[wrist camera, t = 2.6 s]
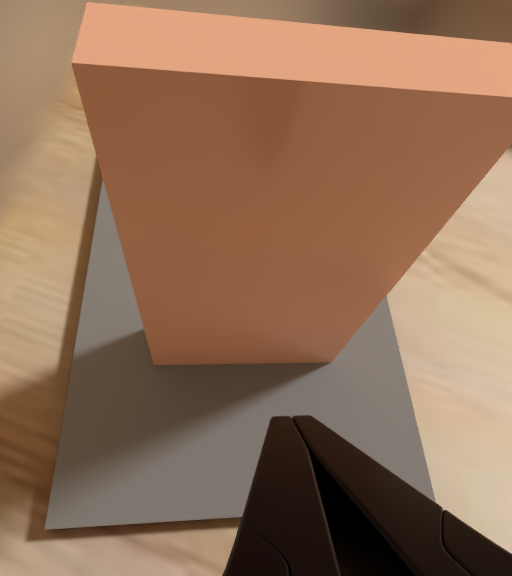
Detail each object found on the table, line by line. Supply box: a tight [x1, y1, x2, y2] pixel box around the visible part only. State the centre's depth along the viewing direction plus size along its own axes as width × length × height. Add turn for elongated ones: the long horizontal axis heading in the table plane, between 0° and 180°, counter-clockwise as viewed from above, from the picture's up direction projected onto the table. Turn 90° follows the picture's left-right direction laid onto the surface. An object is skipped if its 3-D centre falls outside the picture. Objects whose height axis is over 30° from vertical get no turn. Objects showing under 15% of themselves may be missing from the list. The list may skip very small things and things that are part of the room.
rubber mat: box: [44, 180, 436, 530], centre depth 19 cm, size 19×13×1 cm
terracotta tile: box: [71, 2, 512, 365], centre depth 12 cm, size 2×7×12 cm, turn 92°
